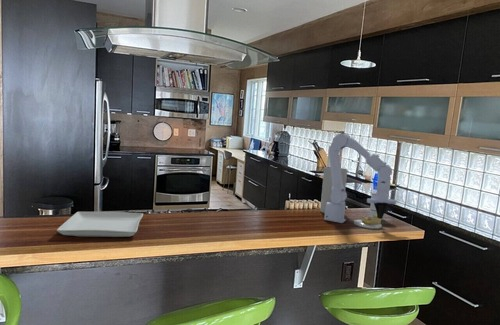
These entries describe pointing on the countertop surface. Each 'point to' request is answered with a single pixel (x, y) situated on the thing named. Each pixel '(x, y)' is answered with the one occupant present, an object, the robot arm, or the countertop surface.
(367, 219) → the gold lugged disc
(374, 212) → the syrup box
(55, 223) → the countertop surface
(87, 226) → the square plate
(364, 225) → the cap plate
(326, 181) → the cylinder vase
